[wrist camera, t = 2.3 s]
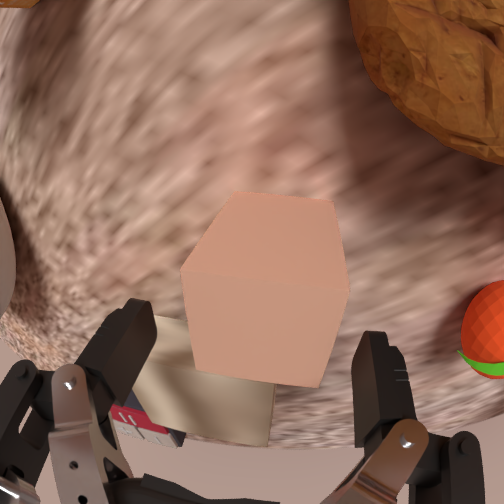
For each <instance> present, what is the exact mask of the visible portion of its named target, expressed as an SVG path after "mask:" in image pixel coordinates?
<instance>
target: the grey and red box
mask: <svg viewBox="0 0 504 504" xmlns="http://www.w3.org/2000/svg"><path fill="white" fill-rule="evenodd" d="M110 411H111V414H112V419H113V422H114V426H115V430H116V431H117V432H119V433H122V434H125V435H128V436H132V437H135V438H139V439H142V440H144V439H146V440H147V441H149V442H152V443H156V444H160V445H164V446H168V447H172V448H177V447H182V445H183V442H184V438H185V435H186V432H183V431H179V430H175V429H172V428H168V427H165V426H161V425H158V424H155V423H152V422H151V420H150V418H149V417H148V415H147V414H146V412H145V410H144V409H143V407H142V405H141V404H140V402H139V400H138V399H137V397H136V395H135V393H134V392H133V390H131V392H130V394H129V396H128V398H127V400H126V402H125V404H124V406H123V408H122V407H120V406H117V405H114V404H113V405H112V407H111V409H110Z"/></svg>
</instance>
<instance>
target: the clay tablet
mask: <svg viewBox="0 0 504 504" xmlns="http://www.w3.org/2000/svg"><path fill="white" fill-rule="evenodd" d="M348 1H349V9H350V17H351V23H352V30H353V36H354V38H355V41H356V44H357V47H358V48H359V51H360V54H361V57H362V61H363V64H364V66H365V69H366V71H367V73H368V75H369V77H370V79H371V81H372V82H373V83H374V84H375V85H376V86H377V87H378V88H379V90H381V91H383V92H386V93H388V95H389V97H390V99H391V101H392V103H393V105H394V106H395V107H397V108H398V109H399V110H400V111H401V112H402V113H403V114H404V115H405V116H406V117H407V118H409V119H410V120H411V121H412V122H413V123H415V124H416V125H417V126H418V127H420V128H421V129H423V130H425V131H426V132H428V133H429V134H431V135H433V136H434V137H435V138H436V139H438V140H439V141H440V142H441V143H442V144H443V145H444V146H447V147H450V148H453V149H455V150H458V151H461V152H464V153H466V154H469V155H471V156H474V157H476V158H479V159H482V160H484V161H488V162H492V163H496V164H499V165H502V166H504V0H348Z"/></svg>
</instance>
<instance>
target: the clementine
mask: <svg viewBox="0 0 504 504" xmlns="http://www.w3.org/2000/svg"><path fill="white" fill-rule="evenodd" d="M461 344H462V348H463V353H464V355H465V356H464V355H463V354H462V353H460V352H459V351H458V350H457V351H458V352H459V354H460V355H461V356H462V357H463V359H464V360H465V361H466V362H467V363H468V364H469V365H470V366H471V367H472V368H473V369H474V370H475V371H476V372H477V373H478V374H480V375H482V376H484V377H487V378H490V379H503V378H504V280H501V281H497V282H493V283H491V284H490V285H488V286H486V287H485V288H483V289H482V290H481V291H480V292H479V293H478V294H477V295H476V296H475V297H474V298H473V300H472V301H471V303H470V304H469V306H468V308H467V310H466V313H465V316H464V318H463V322H462V327H461Z"/></svg>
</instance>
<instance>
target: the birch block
mask: <svg viewBox="0 0 504 504" xmlns="http://www.w3.org/2000/svg"><path fill="white" fill-rule="evenodd" d="M154 318H155V322H156V326H157V339H156V342H155V345H154V347H153V348H152V350H151V352H150V354H149V356H148V358H147V360H146V362H145V364H144V366H143V368H142V370H141V372H140V374H139V376H138V378H137V380H136V382H135V384H134V386H133V388H132V390H133V392H134V393H135V395H136V397H137V399H138V400H139V402H140V404H141V405H142V407H143V409H144V410H145V412H146V414H147V415H148V417H149V418H150V420H151V422H152V423H155V424H158V425H161V426H165V427H168V428H172V429H175V430H179V431H183V432H187V433H191V434H195V435H199V436H204V437H208V438H213V439H218V440H223V441H228V442H234V443H240V444H246V445H253V446H260V447H267V446H268V440H269V435H270V429H271V423H272V417H273V411H274V403H275V394H276V385H277V384H276V383H269V382H262V381H255V380H248V379H242V378H236V377H231V376H225V375H220V374H215V373H210V372H205V371H200V370H196V367H195V362H194V356H193V351H192V345H191V339H190V334H189V328H188V321H184V320H178V319H173V318H167V317H161V316H156V315H154Z"/></svg>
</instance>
